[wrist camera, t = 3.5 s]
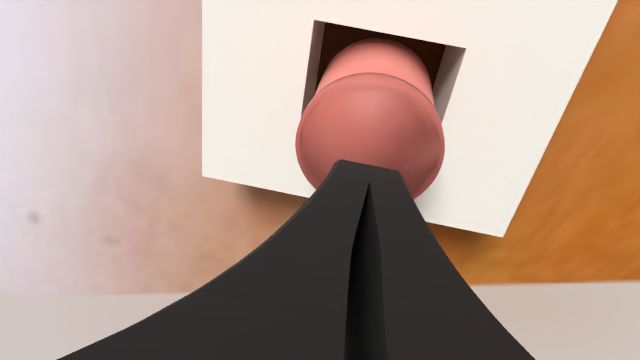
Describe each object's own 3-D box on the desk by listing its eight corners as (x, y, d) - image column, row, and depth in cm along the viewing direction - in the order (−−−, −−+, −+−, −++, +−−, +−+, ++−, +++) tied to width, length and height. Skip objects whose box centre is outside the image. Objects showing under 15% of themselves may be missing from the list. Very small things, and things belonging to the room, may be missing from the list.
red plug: (449, 47, 14) (465, 96, 10) (416, 154, 16) (422, 223, 13) (326, 24, 14) (304, 65, 11) (310, 133, 16) (287, 196, 13)
